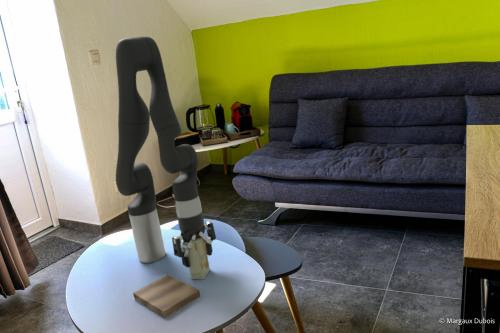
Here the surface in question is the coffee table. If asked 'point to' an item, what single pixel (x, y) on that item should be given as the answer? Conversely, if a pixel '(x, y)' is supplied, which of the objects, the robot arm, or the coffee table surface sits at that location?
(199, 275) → the skincare box
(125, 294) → the coffee table surface
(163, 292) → the walnut board
